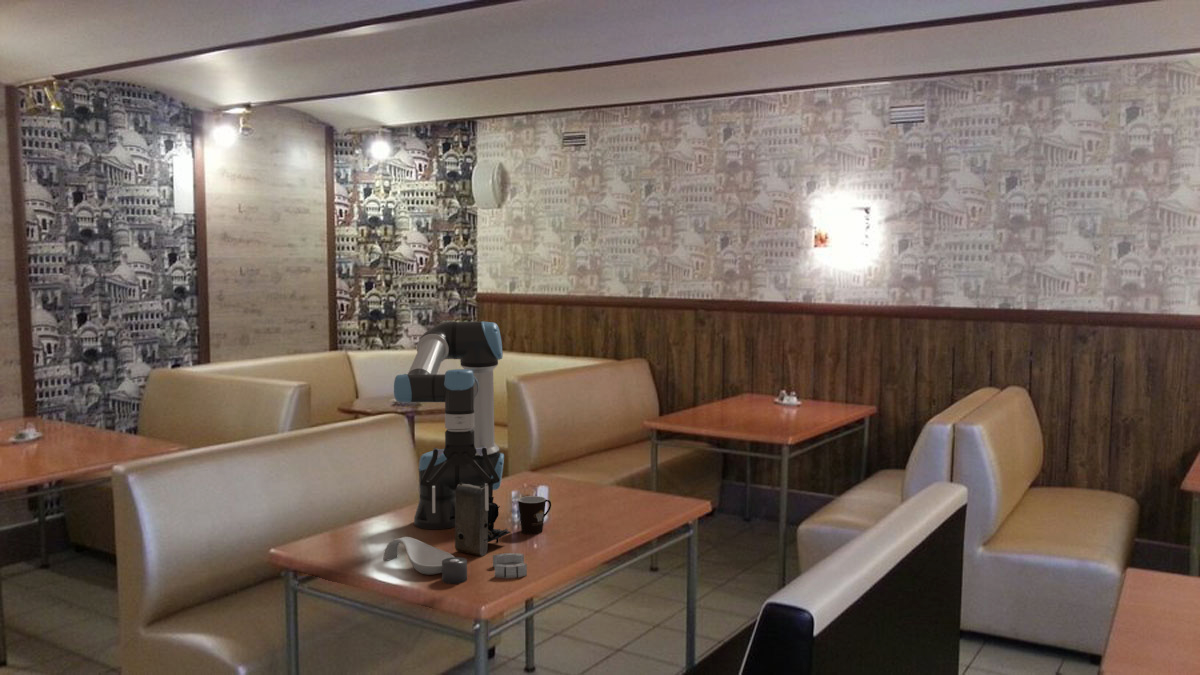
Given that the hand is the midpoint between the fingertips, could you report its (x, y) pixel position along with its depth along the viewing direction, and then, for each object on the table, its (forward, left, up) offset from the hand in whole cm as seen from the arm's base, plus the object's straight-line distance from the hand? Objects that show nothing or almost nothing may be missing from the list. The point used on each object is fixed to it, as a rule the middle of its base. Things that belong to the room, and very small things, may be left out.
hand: (460, 510), depth 236 cm
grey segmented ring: (-3, +13, -18) cm, 22 cm away
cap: (+1, -2, -18) cm, 18 cm away
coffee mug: (-40, +24, -18) cm, 50 cm away
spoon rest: (-11, -11, -18) cm, 24 cm away
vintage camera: (-25, +7, -18) cm, 32 cm away
